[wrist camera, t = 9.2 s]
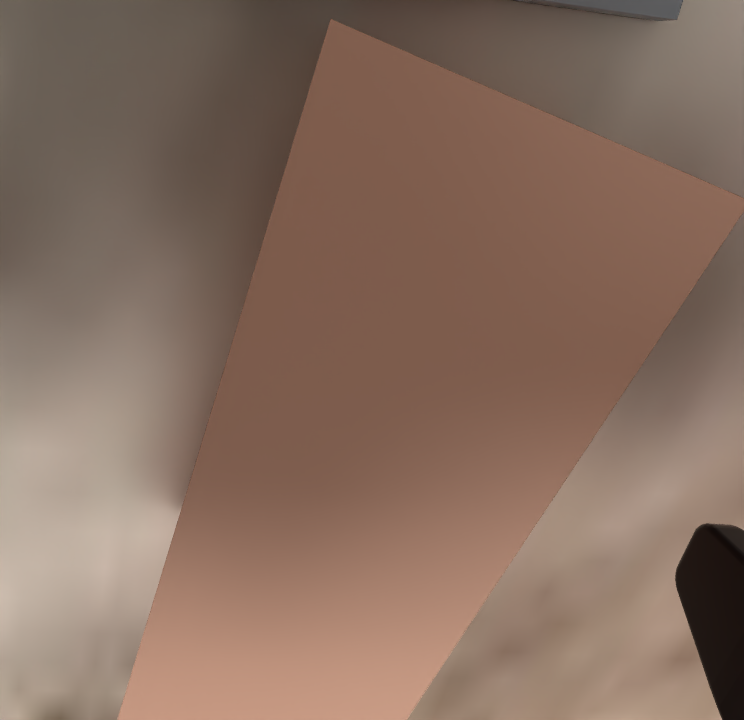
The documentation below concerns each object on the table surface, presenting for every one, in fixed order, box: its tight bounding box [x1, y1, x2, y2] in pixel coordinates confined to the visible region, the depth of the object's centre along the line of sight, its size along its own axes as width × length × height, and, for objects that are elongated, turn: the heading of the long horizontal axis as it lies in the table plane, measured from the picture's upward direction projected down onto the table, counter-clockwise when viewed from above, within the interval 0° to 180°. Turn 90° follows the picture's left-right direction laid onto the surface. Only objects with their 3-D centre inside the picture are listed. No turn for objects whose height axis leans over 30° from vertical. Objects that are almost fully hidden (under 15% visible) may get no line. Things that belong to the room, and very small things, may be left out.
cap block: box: [117, 19, 744, 720], centre depth 9 cm, size 4×10×5 cm, turn 159°
